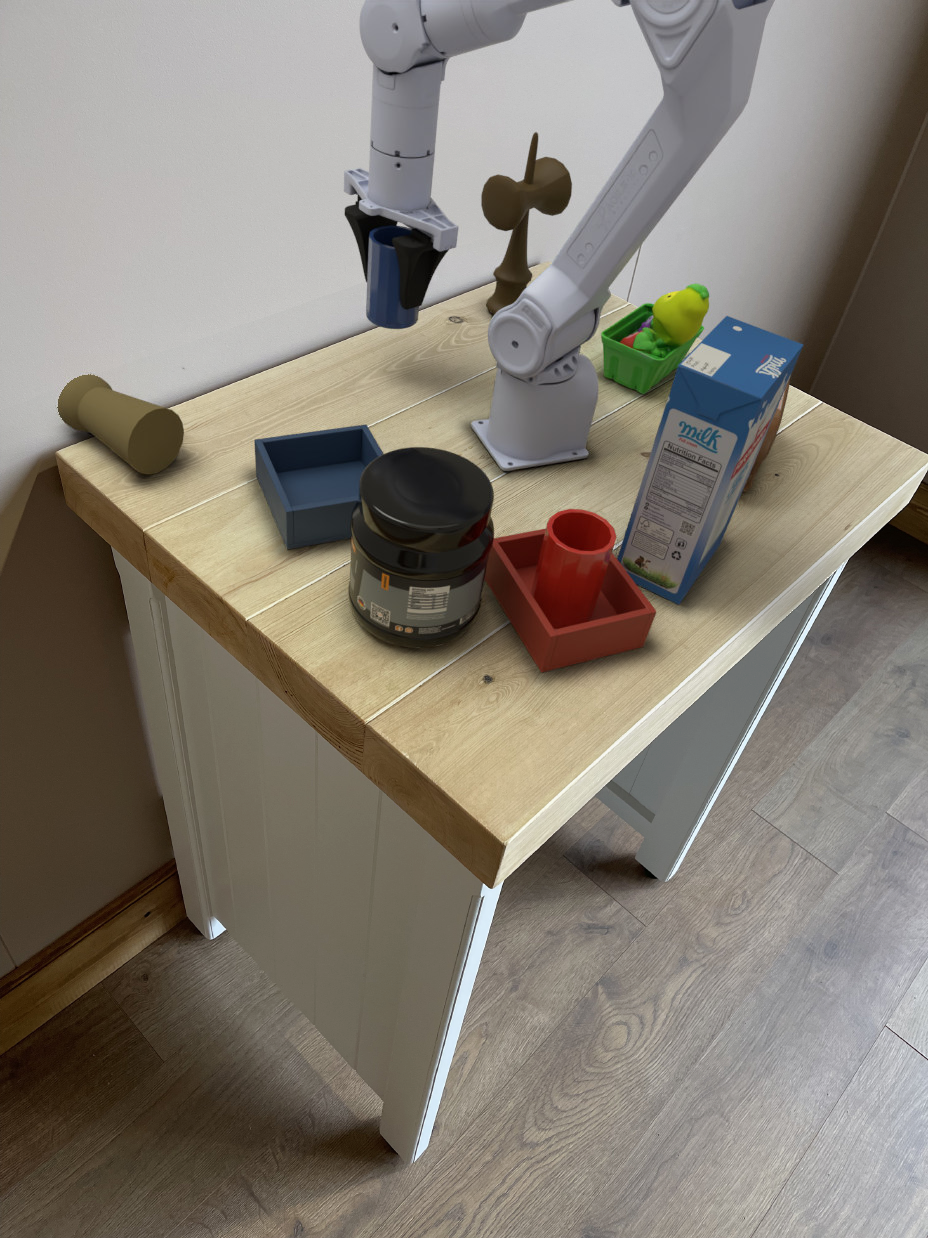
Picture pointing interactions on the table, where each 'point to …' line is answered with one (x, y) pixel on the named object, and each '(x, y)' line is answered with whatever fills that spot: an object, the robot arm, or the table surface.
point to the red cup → (572, 566)
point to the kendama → (522, 217)
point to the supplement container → (420, 546)
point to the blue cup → (386, 281)
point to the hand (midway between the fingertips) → (393, 293)
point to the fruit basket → (654, 338)
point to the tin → (768, 439)
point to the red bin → (608, 632)
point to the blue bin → (314, 481)
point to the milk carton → (704, 453)
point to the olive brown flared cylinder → (123, 423)
